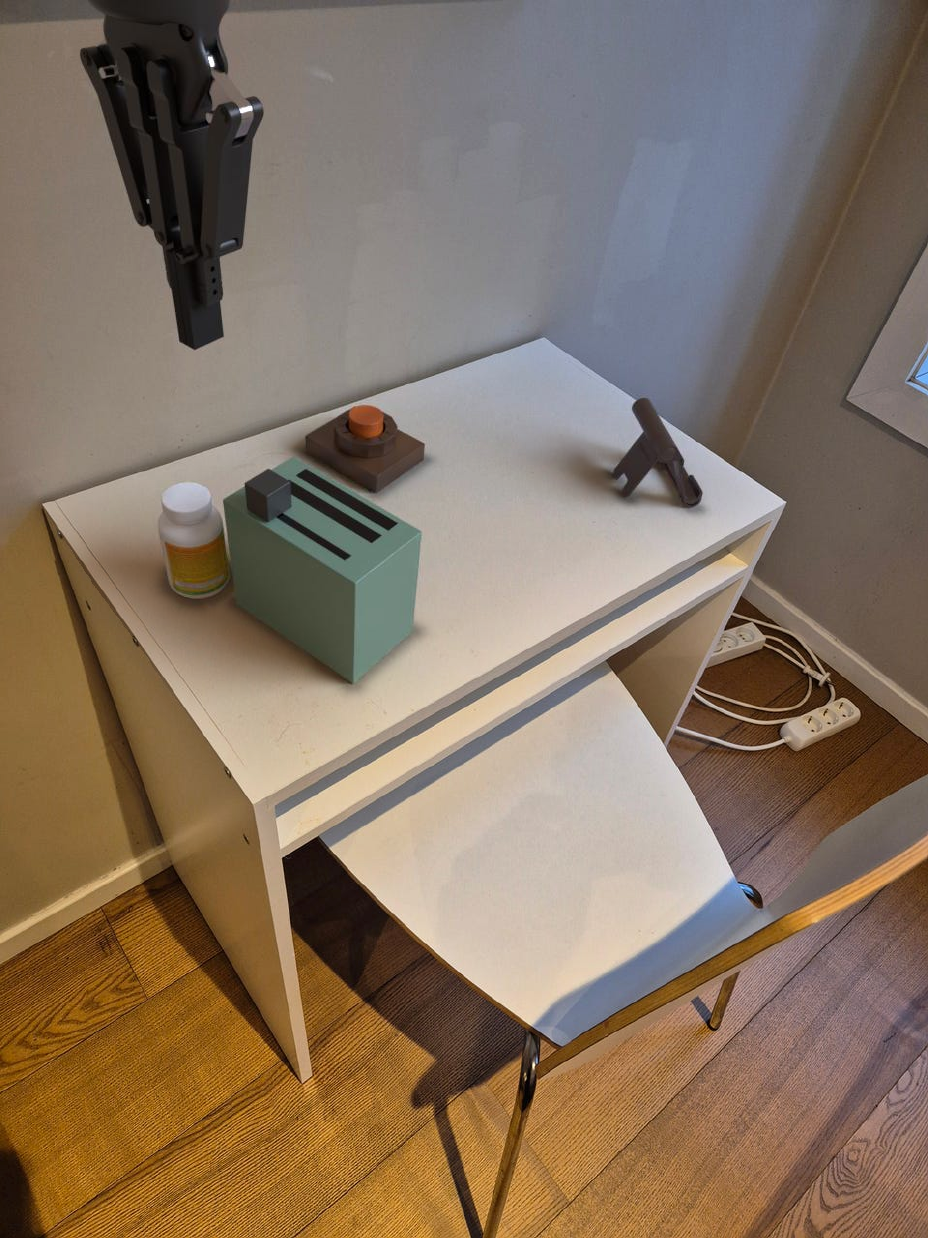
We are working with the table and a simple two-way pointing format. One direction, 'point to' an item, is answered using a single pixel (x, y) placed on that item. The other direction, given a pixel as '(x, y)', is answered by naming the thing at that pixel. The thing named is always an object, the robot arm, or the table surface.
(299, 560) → the toaster
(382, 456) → the button block
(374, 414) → the button
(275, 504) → the slider
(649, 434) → the tablet stand
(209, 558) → the supplement bottle
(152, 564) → the table surface
